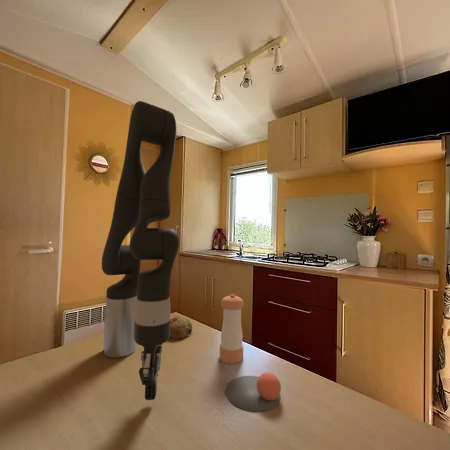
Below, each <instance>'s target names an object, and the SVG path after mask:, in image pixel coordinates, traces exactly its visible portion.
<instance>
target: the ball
mask: <svg viewBox="0 0 450 450" xmlns="http://www.w3.org/2000/svg"><path fill="white" fill-rule="evenodd" d="M258 377H259V378H258V380H257V390H258V393H259V394H260V396H261V397H262V398H264V399H265V400H274V399H276V398H277V397H278V396H279V394H280V395H281V391H282V385H281V382H280V379H279V377H278V376H277V375H275V374H274V373H272V372H270V371H269V372H263V373H261V374H260V375H259V376H258Z"/></svg>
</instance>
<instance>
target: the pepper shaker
mask: <svg viewBox="0 0 450 450" xmlns="http://www.w3.org/2000/svg"><path fill="white" fill-rule="evenodd" d="M220 304H221V305H220V306H221V307H222V308H223V315H222V316H223V317H222V321H223V322H222V327H221V332H220V344H219V359H220V361H221V362H224V363H227V364H238V363H240V362H242V361H243V360H244V344H243V328H242V309H243V307H244V305H245V302H244V300H243V299H242V298H241V297H240V296H237V295H236V294H234V293H231V294H229V295H227V296H225V297H223V298H222V299H221V302H220Z"/></svg>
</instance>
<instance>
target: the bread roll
mask: <svg viewBox="0 0 450 450" xmlns="http://www.w3.org/2000/svg"><path fill="white" fill-rule="evenodd" d="M190 333H193V324H192V322H191V321H190V319H189V318H187V317H186V316H182V315H180V316H173V317H172V318H170V337H171V338H170V337H169V338H170V339H173V338H174V339H178V338H179V339H184V337H185V338H187V337H186V336H189V337H190V336H191V334H190Z"/></svg>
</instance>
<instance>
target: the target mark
mask: <svg viewBox="0 0 450 450" xmlns="http://www.w3.org/2000/svg"><path fill="white" fill-rule="evenodd" d="M259 377H260V376H256V375H241V376H238V377H236V378H235V377H234V378H233V379H232V380H230V381H229V382H228V383H227V384H226V387H225V396H226V397H227V399H228V401H229V402H230V403H231V404H232V405H234V406H235V407H237V408H239V409H241V410H244V411H247V412H253V413H254V412H255V413H256V412H258V413H259V412H266V411H269V410H272V409H273V408H275V407H276V406H277V405H279V403H280V400H281V393H280V394H279V396H278V397H277V398H276V399H274V400H265V399H264V398H262V397H261V396H260V394H259V393H258V390H257V380H258V378H259Z"/></svg>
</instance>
